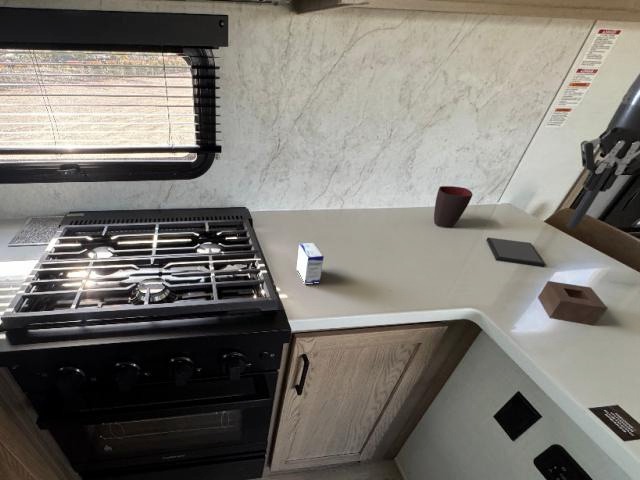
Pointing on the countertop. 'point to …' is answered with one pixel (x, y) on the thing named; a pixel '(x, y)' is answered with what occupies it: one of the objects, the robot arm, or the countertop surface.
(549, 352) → the countertop surface
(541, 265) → the tablet
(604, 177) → the stylus
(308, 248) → the box
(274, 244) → the countertop surface
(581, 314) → the pen holder
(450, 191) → the cup
